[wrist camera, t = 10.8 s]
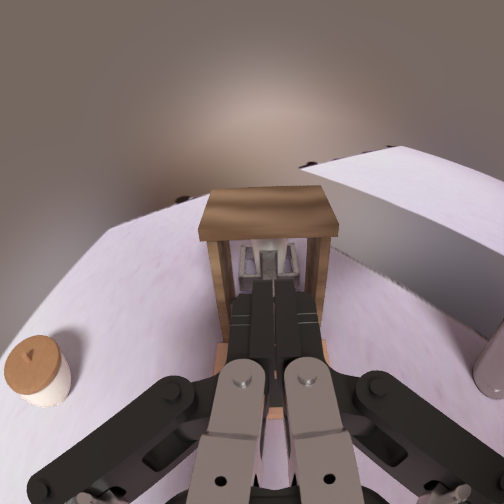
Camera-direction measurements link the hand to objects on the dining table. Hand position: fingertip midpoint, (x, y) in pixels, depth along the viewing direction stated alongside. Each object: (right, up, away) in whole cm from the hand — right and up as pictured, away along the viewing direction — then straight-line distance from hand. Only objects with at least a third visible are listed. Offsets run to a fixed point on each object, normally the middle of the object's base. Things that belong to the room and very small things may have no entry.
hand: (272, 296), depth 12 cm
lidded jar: (-32, -20, +25) cm, 46 cm away
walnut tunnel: (+2, -9, +38) cm, 39 cm away
